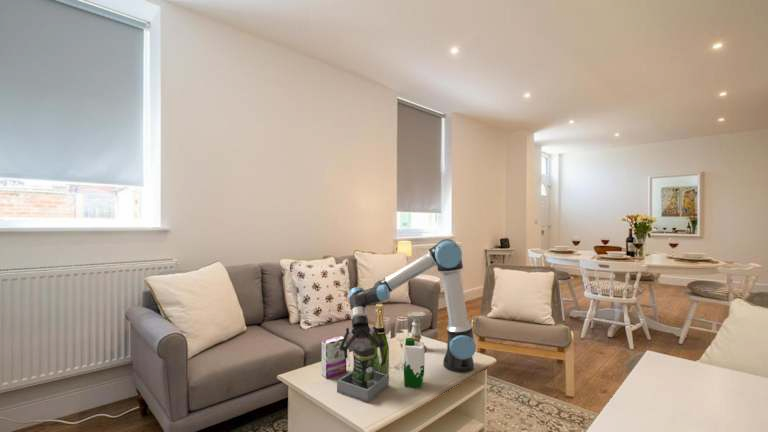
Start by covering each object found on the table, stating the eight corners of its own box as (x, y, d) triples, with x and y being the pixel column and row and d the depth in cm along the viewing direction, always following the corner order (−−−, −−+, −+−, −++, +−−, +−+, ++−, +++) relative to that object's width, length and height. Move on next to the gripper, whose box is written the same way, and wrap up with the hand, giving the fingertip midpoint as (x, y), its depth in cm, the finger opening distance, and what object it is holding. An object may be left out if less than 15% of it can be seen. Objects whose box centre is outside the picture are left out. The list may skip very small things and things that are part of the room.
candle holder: (431, 351, 205) (432, 314, 205) (413, 355, 199) (414, 317, 198) (417, 343, 216) (418, 309, 215) (400, 347, 209) (401, 312, 209)
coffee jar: (349, 385, 161) (350, 342, 161) (364, 380, 166) (365, 339, 166) (361, 394, 153) (362, 349, 153) (377, 388, 158) (378, 345, 158)
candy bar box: (340, 368, 179) (341, 335, 179) (346, 372, 175) (347, 338, 175) (320, 375, 172) (321, 340, 172) (326, 379, 168) (326, 343, 168)
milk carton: (405, 378, 171) (406, 335, 170) (424, 381, 169) (425, 337, 168) (402, 387, 162) (403, 342, 162) (422, 390, 160) (424, 344, 160)
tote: (388, 386, 163) (388, 375, 163) (367, 402, 148) (367, 390, 148) (359, 377, 171) (359, 366, 171) (336, 392, 157) (337, 380, 156)
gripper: (384, 321, 177) (391, 365, 163) (331, 324, 171) (334, 370, 157) (387, 313, 172) (394, 358, 158) (333, 316, 166) (336, 362, 152)
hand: (364, 364), depth 157 cm, fingers open, 13 cm apart
